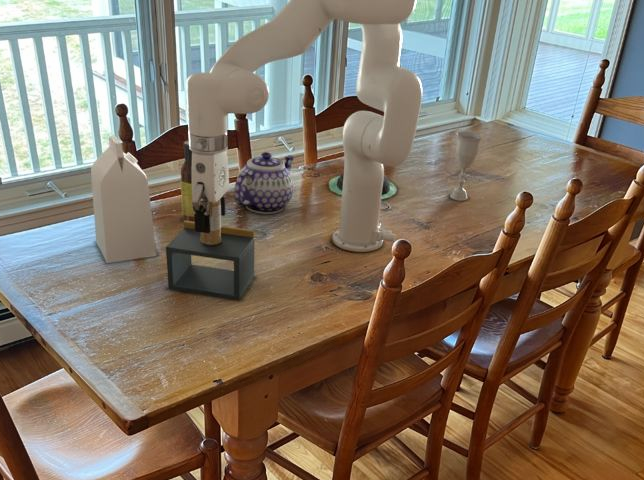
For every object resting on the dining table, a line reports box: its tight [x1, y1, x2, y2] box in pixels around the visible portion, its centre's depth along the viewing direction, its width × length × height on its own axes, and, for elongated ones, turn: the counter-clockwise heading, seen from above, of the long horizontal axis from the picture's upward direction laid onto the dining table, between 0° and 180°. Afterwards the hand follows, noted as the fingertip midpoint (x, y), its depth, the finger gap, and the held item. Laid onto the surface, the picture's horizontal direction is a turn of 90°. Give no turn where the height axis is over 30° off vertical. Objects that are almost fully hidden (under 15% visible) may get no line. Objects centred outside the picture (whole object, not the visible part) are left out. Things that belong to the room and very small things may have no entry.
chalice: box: [449, 130, 484, 202], centre depth 204 cm, size 7×7×18 cm
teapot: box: [233, 151, 295, 215], centre depth 192 cm, size 25×15×15 cm, turn 143°
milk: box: [90, 134, 157, 264], centre depth 164 cm, size 12×12×26 cm
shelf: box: [165, 220, 255, 301], centre depth 156 cm, size 16×11×12 cm
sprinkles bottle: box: [200, 197, 222, 245], centre depth 150 cm, size 5×5×14 cm
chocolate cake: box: [328, 172, 397, 200], centre depth 211 cm, size 15×19×20 cm
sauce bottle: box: [180, 140, 195, 222], centre depth 182 cm, size 7×6×20 cm
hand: (210, 222), depth 151 cm, fingers open, 9 cm apart
